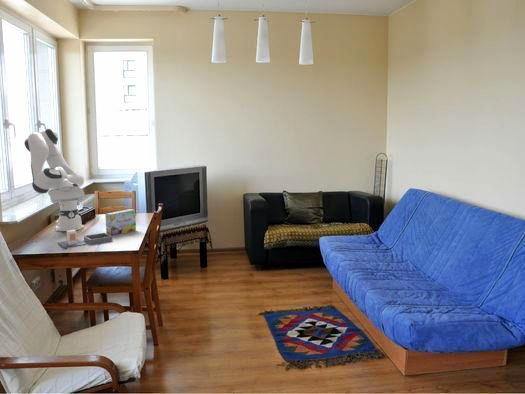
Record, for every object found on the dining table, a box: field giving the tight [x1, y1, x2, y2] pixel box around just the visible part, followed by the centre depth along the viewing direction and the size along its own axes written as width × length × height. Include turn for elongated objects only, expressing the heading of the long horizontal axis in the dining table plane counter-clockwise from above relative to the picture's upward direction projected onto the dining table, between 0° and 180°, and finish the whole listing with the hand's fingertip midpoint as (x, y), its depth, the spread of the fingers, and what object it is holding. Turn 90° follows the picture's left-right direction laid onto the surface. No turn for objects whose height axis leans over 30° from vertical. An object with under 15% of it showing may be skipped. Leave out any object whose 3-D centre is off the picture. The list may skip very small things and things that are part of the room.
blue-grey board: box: [57, 238, 86, 250], centre depth 277 cm, size 16×12×1 cm
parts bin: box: [83, 232, 113, 246], centre depth 283 cm, size 13×13×4 cm
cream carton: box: [65, 230, 78, 245], centre depth 275 cm, size 5×4×8 cm
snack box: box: [105, 208, 137, 237], centre depth 305 cm, size 21×6×15 cm, turn 148°
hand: (70, 205), depth 284 cm, fingers open, 8 cm apart
